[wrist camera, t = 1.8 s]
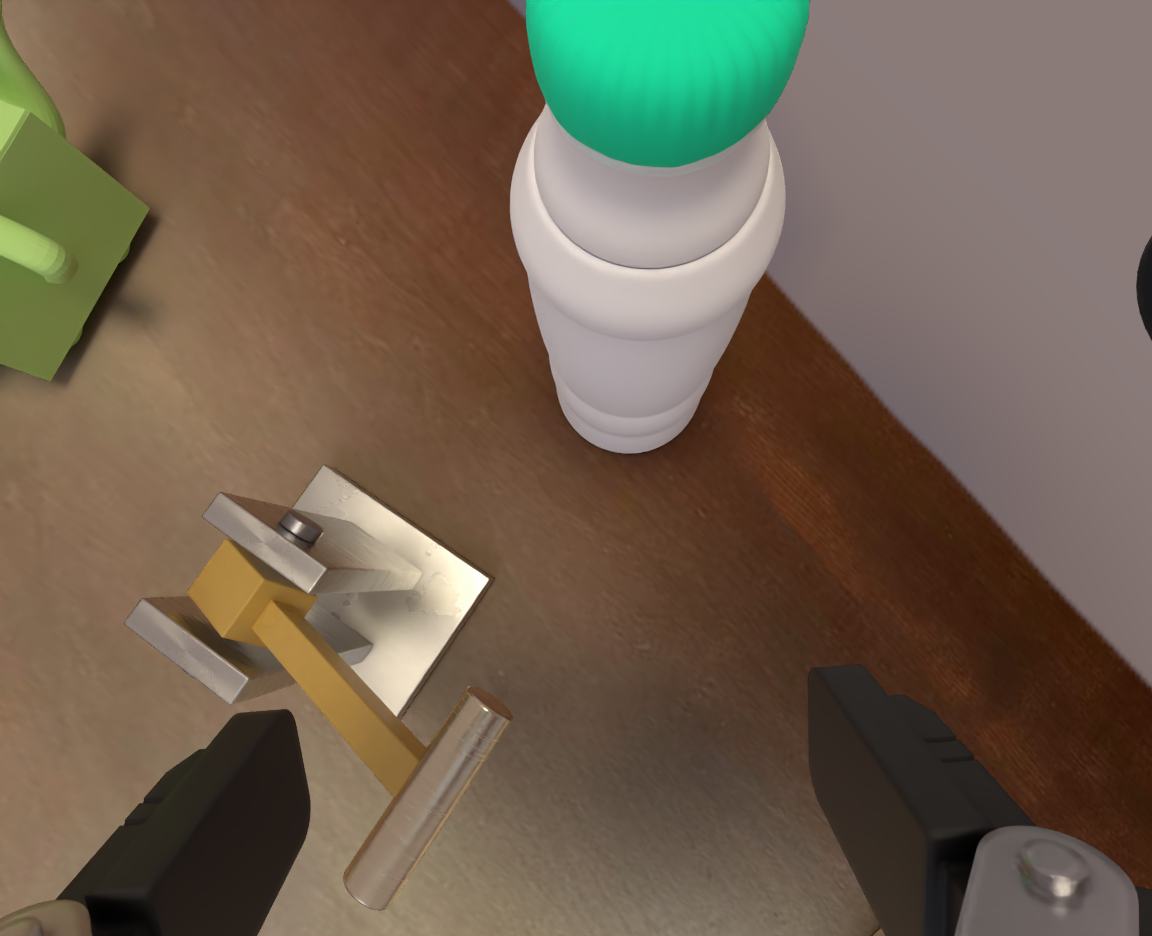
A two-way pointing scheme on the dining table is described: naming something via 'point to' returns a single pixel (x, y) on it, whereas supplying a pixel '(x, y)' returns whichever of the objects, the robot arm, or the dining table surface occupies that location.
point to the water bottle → (649, 198)
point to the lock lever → (356, 718)
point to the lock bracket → (329, 593)
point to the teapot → (51, 225)
